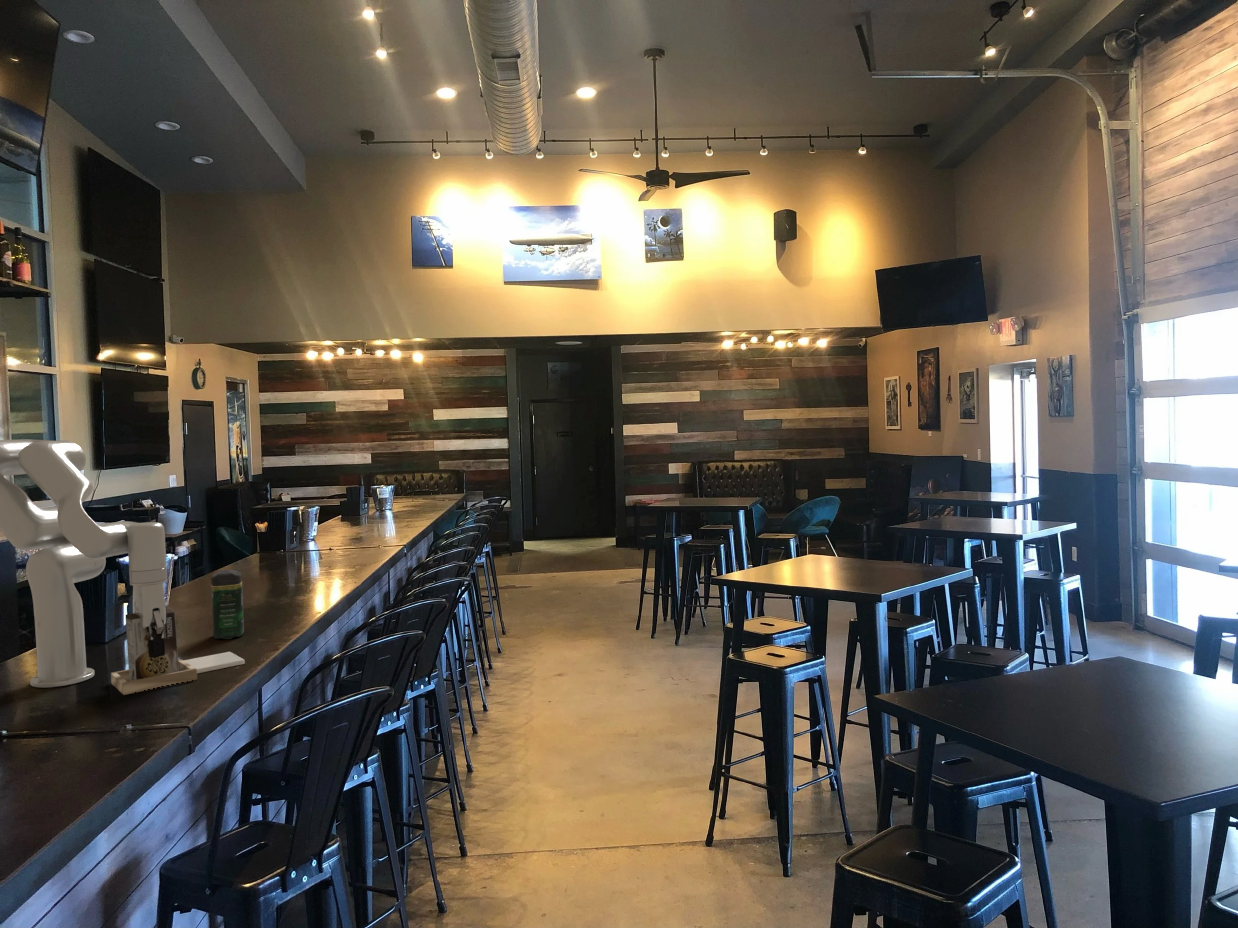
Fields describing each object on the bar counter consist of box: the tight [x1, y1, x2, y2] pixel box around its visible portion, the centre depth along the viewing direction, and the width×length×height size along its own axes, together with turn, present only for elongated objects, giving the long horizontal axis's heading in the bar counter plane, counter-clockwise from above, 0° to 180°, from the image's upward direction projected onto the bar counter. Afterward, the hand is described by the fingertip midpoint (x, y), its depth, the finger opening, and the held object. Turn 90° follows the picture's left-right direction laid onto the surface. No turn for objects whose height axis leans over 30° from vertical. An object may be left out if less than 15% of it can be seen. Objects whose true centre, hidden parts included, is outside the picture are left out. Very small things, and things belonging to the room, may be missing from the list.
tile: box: [183, 651, 246, 674], centre depth 209 cm, size 11×11×1 cm
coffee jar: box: [210, 568, 245, 640], centre depth 238 cm, size 10×8×19 cm
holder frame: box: [110, 658, 198, 696], centre depth 196 cm, size 12×15×2 cm
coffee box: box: [125, 607, 179, 681], centre depth 195 cm, size 9×6×16 cm
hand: (152, 652), depth 195 cm, fingers closed on coffee box, 6 cm apart
